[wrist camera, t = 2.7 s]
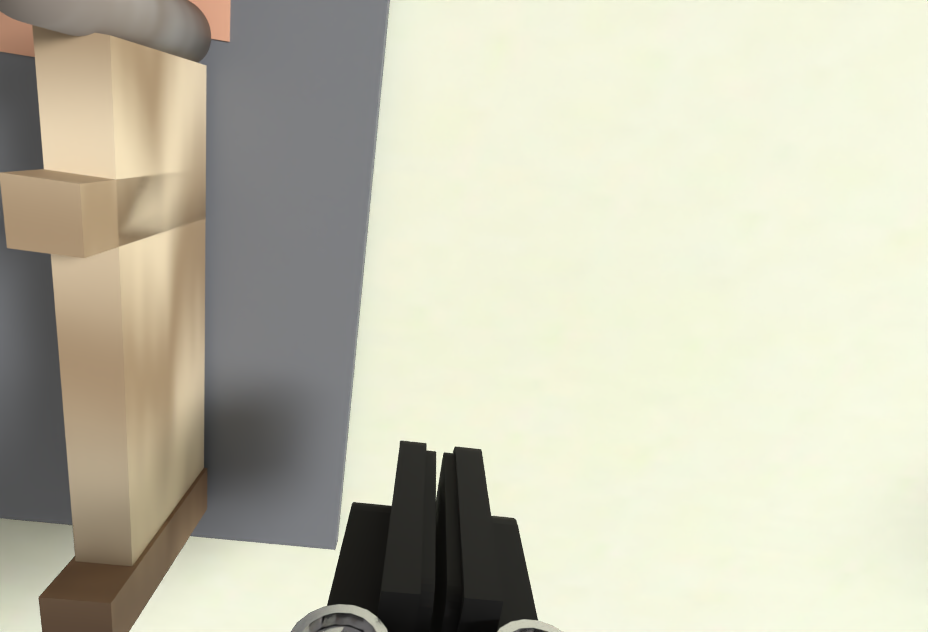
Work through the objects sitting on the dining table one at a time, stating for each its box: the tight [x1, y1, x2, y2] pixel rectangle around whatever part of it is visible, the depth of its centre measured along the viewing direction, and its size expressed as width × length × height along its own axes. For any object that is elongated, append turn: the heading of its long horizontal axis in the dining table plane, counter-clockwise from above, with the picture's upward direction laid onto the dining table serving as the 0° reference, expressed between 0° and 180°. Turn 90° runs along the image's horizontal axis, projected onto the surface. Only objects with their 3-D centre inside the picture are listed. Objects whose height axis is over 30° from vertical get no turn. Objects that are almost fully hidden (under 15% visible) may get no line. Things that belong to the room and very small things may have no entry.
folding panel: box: [0, 0, 211, 632], centre depth 12 cm, size 13×1×5 cm, turn 171°
